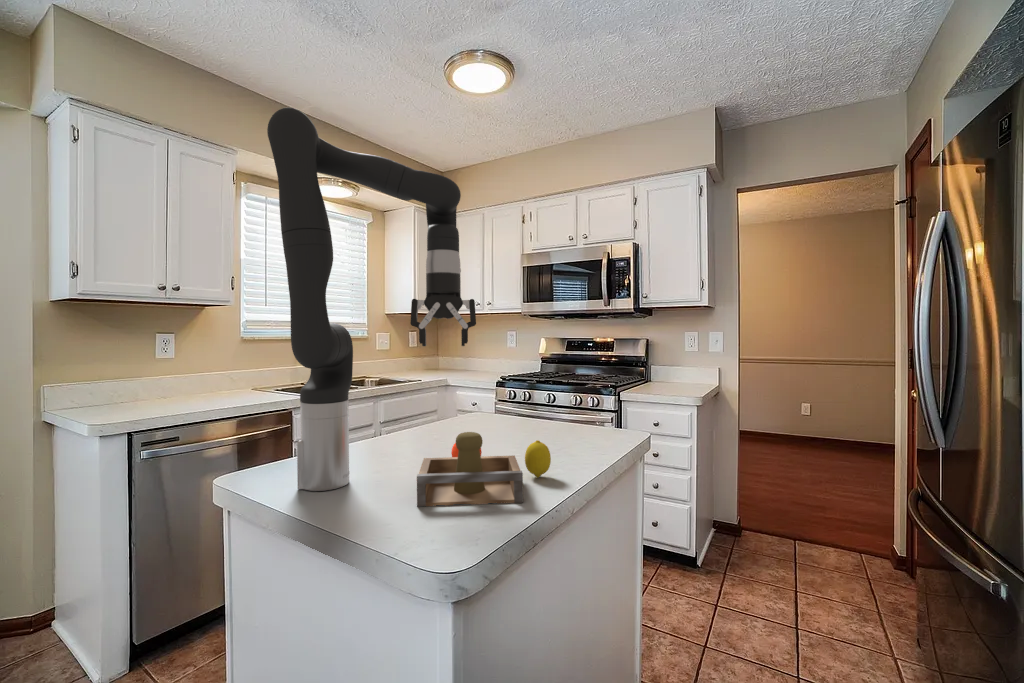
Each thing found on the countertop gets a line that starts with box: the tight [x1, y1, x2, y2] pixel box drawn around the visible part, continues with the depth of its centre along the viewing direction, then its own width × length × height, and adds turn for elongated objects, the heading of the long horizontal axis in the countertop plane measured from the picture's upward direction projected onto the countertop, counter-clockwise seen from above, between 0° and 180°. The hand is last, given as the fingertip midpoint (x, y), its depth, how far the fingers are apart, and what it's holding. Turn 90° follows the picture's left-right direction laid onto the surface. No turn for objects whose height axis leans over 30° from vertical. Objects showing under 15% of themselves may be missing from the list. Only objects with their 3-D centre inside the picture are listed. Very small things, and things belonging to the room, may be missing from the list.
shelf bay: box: [416, 455, 524, 508], centre depth 94 cm, size 19×14×6 cm
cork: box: [454, 431, 485, 494], centre depth 94 cm, size 6×6×11 cm
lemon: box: [524, 439, 552, 478], centre depth 103 cm, size 6×6×8 cm
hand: (443, 346), depth 107 cm, fingers open, 8 cm apart
